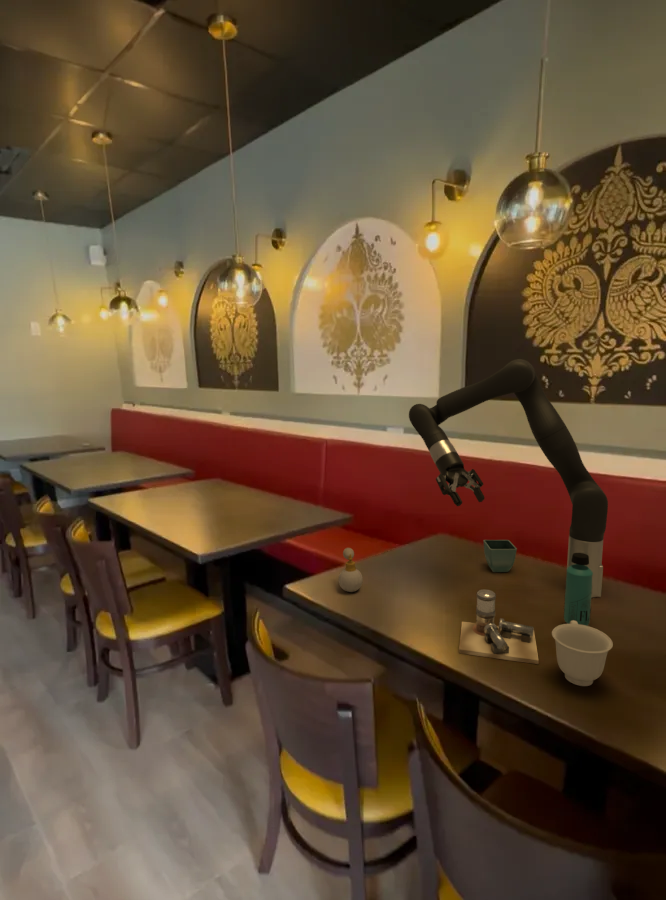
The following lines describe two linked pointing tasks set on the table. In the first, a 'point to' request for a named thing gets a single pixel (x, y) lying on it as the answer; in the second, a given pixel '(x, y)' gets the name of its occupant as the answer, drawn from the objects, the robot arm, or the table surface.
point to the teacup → (581, 652)
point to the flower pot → (499, 554)
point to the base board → (476, 645)
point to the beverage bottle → (578, 590)
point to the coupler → (485, 609)
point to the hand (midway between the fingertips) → (471, 502)
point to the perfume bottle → (350, 573)
